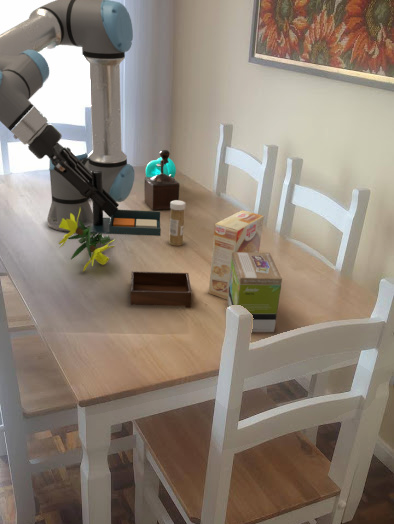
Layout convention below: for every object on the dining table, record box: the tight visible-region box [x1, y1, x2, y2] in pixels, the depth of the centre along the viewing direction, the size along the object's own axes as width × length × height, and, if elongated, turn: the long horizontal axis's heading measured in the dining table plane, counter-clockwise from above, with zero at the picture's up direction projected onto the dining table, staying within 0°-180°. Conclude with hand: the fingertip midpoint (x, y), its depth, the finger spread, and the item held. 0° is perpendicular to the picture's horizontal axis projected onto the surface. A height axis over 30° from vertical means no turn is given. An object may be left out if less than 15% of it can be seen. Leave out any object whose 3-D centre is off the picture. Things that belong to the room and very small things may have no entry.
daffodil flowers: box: [57, 210, 115, 273], centre depth 163 cm, size 17×15×35 cm
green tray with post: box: [90, 170, 162, 237], centre depth 135 cm, size 10×16×13 cm, turn 94°
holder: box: [130, 271, 193, 308], centre depth 149 cm, size 12×15×4 cm
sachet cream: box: [136, 219, 157, 228], centre depth 139 cm, size 4×5×1 cm
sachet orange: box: [113, 218, 135, 227], centre depth 138 cm, size 4×5×1 cm
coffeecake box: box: [208, 209, 265, 301], centre depth 152 cm, size 15×7×20 cm, turn 148°
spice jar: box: [168, 199, 186, 247], centre depth 178 cm, size 5×5×14 cm
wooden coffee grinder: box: [143, 149, 180, 211], centre depth 210 cm, size 16×11×18 cm
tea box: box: [227, 252, 283, 333], centre depth 139 cm, size 15×10×15 cm, turn 5°
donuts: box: [145, 156, 177, 179], centre depth 234 cm, size 10×10×10 cm
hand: (114, 210), depth 137 cm, fingers closed on green tray with post, 2 cm apart
